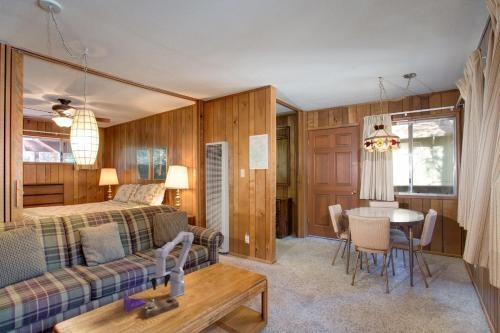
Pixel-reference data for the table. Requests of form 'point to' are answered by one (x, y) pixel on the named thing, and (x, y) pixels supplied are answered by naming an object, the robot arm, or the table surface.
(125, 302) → the bracket
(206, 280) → the table surface
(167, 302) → the board
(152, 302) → the pin
